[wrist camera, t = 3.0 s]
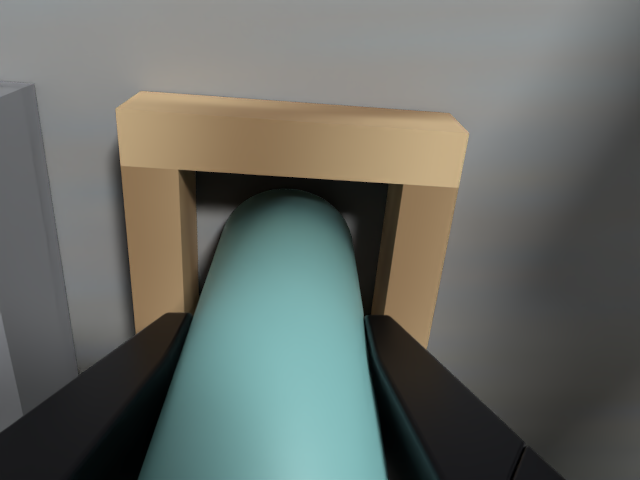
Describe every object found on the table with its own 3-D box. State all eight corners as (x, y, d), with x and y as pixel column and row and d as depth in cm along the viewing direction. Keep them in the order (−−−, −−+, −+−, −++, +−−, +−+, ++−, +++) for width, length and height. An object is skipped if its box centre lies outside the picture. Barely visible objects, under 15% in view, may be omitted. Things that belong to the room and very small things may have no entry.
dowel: (356, 190, 11) (443, 605, 4) (349, 307, 12) (405, 789, 5) (216, 187, 11) (33, 604, 4) (223, 305, 12) (96, 791, 5)
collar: (449, 113, 11) (469, 133, 9) (405, 358, 13) (416, 400, 12) (141, 90, 10) (115, 108, 9) (158, 345, 13) (140, 388, 12)
